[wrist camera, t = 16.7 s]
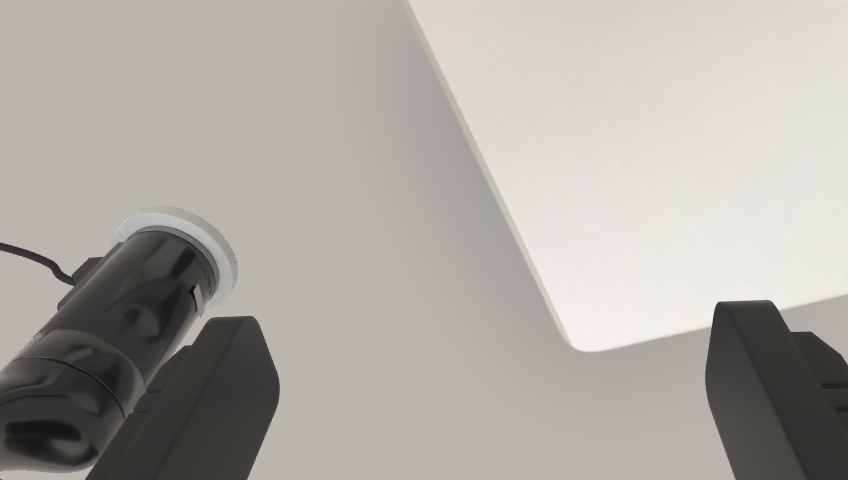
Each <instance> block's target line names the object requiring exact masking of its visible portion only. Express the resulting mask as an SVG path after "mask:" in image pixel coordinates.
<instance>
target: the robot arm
mask: <svg viewBox="0 0 848 480" xmlns="http://www.w3.org/2000/svg"><path fill="white" fill-rule="evenodd" d="M0 250H1V251H5V252H9V253H13V254H16V255H19V256H23V257H26V258H28V259H31V260H34V261H36V262H38V263H41V264H43V265H45V266H47V267H49V268H50V269H51V270H52V272H53V274H54V275H55V276H56V278H57V279H59V280H61V281H63V282H64V283H67V284H69V285H72V286H75V287H74V288H73V289H72V290H71V291H70V292H69V293H68V294H67V295H66V296H65V297H64V298H63V299H62V300H61V301H60V302H59V303H58V306H57V309H58V312H57V313H56V314H55V315H54V316H53V317H52V318H51V319H50V321H48V322H47V324H45V326H44V327H43V328H42V329H41V330H40V331H39V332H38V333H37V334H36V335H35V336H34V337H33V338H32V339H31V340H30V341H29V342H28V343H27V344H26V345H25V346H24V347H23V348H22V349H21V350H20V351H19V353H18V354H17V355H16V356H15V357H14V358H13V359H12V360H11V361H10V362H9V363H8V364H7V365H6V366H5V367H4V368H3V369H2V370H1V371H0V472H1V471H12V470H27V471H39V472H49V473H71V472H78V471H81V470H85V469H87V468H90V467H92V466H94V467H93V469H92V470H91V472H90V473H89V474H88V476H87V477H86V479H85V480H247V478H248V476H249V474H250V471H251V469H252V466H253V464H254V461H255V459H256V456H257V454H258V452H259V449H260V447H261V445H262V442H263V440H264V437H265V435H266V433H267V430H268V428H269V425H270V423H271V421H272V418H273V416H274V413H275V411H276V408H277V405H278V401H279V392H280V391H279V390H280V385H279V378H278V374H277V371H276V368H275V366H274V363H273V360H272V358H271V355H270V352H269V350H268V347H267V344H266V342H265V339H264V336H263V333H262V331H261V328H260V325H259V323H258V321H257V320H256V319H255V318H254V317H252V316H238V317H214V318H211V319H210V320H209V321H207V323H206V324H205V326H204V327H203V329H202V330H201V332H200V333H199V335H198V337H197V338H196V340H195V342H194V343H193V345H190V346H184V347H183V348H182V349H180V350H179V351H178V352H177V353H176V354H175V355H173V354H174V352H175V351H176V349H177V348H178V346H179V345H180V343H181V342H182V340H183V338H184V337H185V336H186V334H187V333H188V331H189V329H190V328H191V326H192V325H193V323H194V322H195V320H196V319H197V317H198V316H199V315H200V317H201V316H202V314H203V313H204V311H205V308H204V307H205V305H206V304H207V302H208V301H209V300H210V299H211V298H212V297H213V295H214V294H215V292H216V291H217V289H218V286H219V281H220V275H219V269H218V266H217V264H216V261H215V259H214V258H213V256H212V255H211V253H210V252H209V251H208V249H207V248H206V247H205V246H204V245H203V244H202V243H200V242H199V241H198V240H197V239H195V238H194V237H192V236H191V235H189V234H187V233H185V232H183V231H181V230H178V229H175V228H172V227H168V226H159V225H155V226H147V227H143V228H140V229H138V230H137V231H135V232H134V233H132V234H131V235H130V236H129V237H128V238H127V240H126V241H125V242H118V243H117V244H116V245H115V246H114V247H113V248H112V249H111V250H110V251H109V252H108V253H107V254H106V255H105V256H104V257H98V258H97V257H96V258H89V259H88V260H87V261H86V262H85V263H84V264H83V265H82V266H81V267H80V268H79V269H77V270H76V271H75V272H74V273H73V275H72V277H70V276H68V275H66V274H64V273H63V272H62V271H61V269H60V268H59V266H58V265H57V264H56V263H55V262H54V261H52V260H50V259H48V258H46V257H44V256H41V255H39V254H36V253H34V252H31V251H28V250H25V249H22V248H18V247H15V246H12V245H8V244H3V243H0ZM172 355H173V356H172ZM705 382H706V392H707V398H708V402H709V406H710V409H711V412H712V415H713V418H714V420H715V423H716V426H717V429H718V432H719V434H720V437H721V440H722V443H723V445H724V448H725V451H726V454H727V457H728V460H729V462H730V465H731V468H732V471H733V474H734V476H735V479H736V480H848V365H847V363H846V362H845V360H844V359H843V357H842V356H841V354H839V353H838V352H837V351H835V350H834V349H833V348H831V347H830V346H829V345H827V344H826V343H825V342H823V341H822V340H821V339H820V338H818V337H817V336H816V335H815V334H813V333H812V332H790V330H789V329H788V327H787V325H786V323H785V322H784V320H783V318H782V317H781V315H780V313H779V311H778V309H777V308H776V306H775V305H774V304H773V302H771V301H770V300H755V301H726V302H718V303H717V305H716V307H715V310H714V316H713V323H712V330H711V337H710V343H709V350H708V357H707V363H706V371H705ZM0 480H1V479H0Z"/></svg>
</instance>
